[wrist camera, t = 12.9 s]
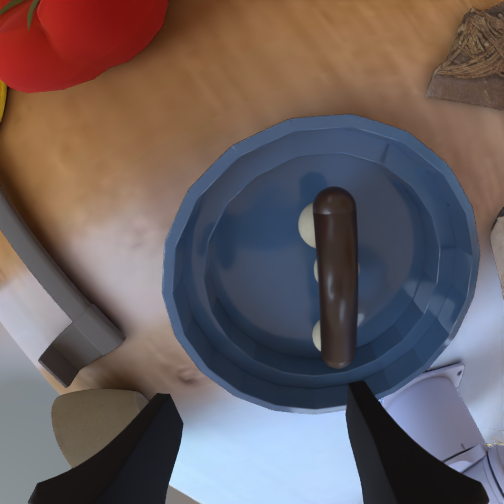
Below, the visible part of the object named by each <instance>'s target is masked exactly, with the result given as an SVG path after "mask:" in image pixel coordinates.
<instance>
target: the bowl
mask: <svg viewBox="0 0 504 504" xmlns="http://www.w3.org/2000/svg"><path fill="white" fill-rule="evenodd" d="M332 186H336V187H341V188H343V189H345V190H347V191H348V192H349V193H350V194H351V195H352V196H353V198H354V200H355V203H356V208H357V229H358V262H359V268H360V269H359V276H358V325H357V346H356V355H355V358H354V360H353V361H352V362H351V364H349V365H348V366H346V367H344V368H341V369H335V368H331V367H329V366H328V365H326V364H325V362H324V361H323V359H322V356H321V351H320V350H318V349H317V347H316V346H315V344H314V342H313V337H312V334H313V329H314V326H315V324H316V323H317V322H318V320H320V311H319V291H318V282H317V280H316V278H315V275H314V264H315V261H316V248H313V247H311V246H310V245H308V244H307V243H306V242H305V241H304V240H303V238H302V237H301V235H300V232H299V227H298V222H299V217H300V215H301V213H302V211H303V209H304V208H305V207H306V206H307V205H309V204H310V203H312V202H313V201H314V199H315V197H316V196H317V194H318V193H319V192H320V191H321V190H323V189H325V188H327V187H332ZM479 261H480V248H479V240H478V234H477V228H476V222H475V217H474V211H473V208H472V205H471V204H470V202H469V200H468V198H467V196H466V194H465V192H464V190H463V189H462V187H461V185H460V183H459V181H458V180H457V178H456V176H455V175H454V173H453V171H452V169H451V168H450V166H448V164H447V163H446V162H445V161H443V160H442V159H441V158H440V157H439V156H438V155H436V154H435V153H434V152H433V151H432V150H431V149H429V148H428V147H427V146H426V145H424V144H423V143H422V142H421V141H419V140H418V139H417V138H416V137H414V136H413V135H412V134H410V133H409V132H407V131H405V130H402V129H399V128H396V127H393V126H390V125H387V124H384V123H381V122H378V121H375V120H372V119H368V118H365V117H361V116H358V115H354V114H353V115H352V114H341V115H324V116H311V117H300V118H291V119H288V120H285V121H283V122H281V123H278V124H276V125H274V126H272V127H270V128H267V129H265V130H263V131H261V132H259V133H257V134H255V135H253V136H250V137H248V138H246V139H244V140H242V141H240V142H238V143H236V144H234V145H233V146H232V147H230V148H229V149H228V150H227V151H226V152H225V153H224V154H223V155H221V156H220V157H219V158H218V159H217V160H216V161H215V162H214V164H213V165H212V166H211V167H210V168H209V169H208V170H207V171H206V172H205V173H204V174H203V175H202V176H201V177H200V178H199V179H198V180H197V181H196V182H195V183H194V184H193V185H192V186H191V187H190V188H189V190H188V191H187V193H186V195H185V197H184V199H183V202H182V204H181V206H180V208H179V210H178V213H177V215H176V217H175V219H174V222H173V224H172V226H171V228H170V231H169V233H168V235H167V238H166V240H165V246H164V261H163V278H162V295H163V299H164V302H165V305H166V309H167V312H168V315H169V319H170V322H171V325H172V328H173V331H174V334H175V336H176V338H177V340H178V341H179V343H180V344H181V345H182V347H183V348H184V350H185V351H186V352H187V354H188V355H189V357H190V358H191V359H192V361H193V362H194V363H195V365H196V366H197V367H198V369H199V370H200V371H201V372H202V373H203V374H205V375H206V376H207V377H209V378H210V379H211V380H213V381H214V382H215V383H217V384H218V385H220V386H221V387H222V388H224V389H225V390H227V391H228V392H229V393H231V394H232V395H234V396H236V397H238V398H240V399H243V400H246V401H248V402H251V403H254V404H256V405H259V406H262V407H265V408H268V409H270V410H274V411H282V412H291V413H302V414H322V413H330V412H337V411H343V410H346V405H347V394H348V383H352V382H358V381H365V382H366V384H367V385H368V387H369V388H370V390H371V391H372V393H373V394H374V395H375V397H376V398H377V399H381V398H383V397H386V396H388V395H390V394H393V393H395V392H396V391H398V390H399V389H401V388H402V387H403V386H405V385H406V384H408V383H409V382H411V381H412V380H413V379H415V378H416V377H418V376H419V375H420V374H422V373H423V372H424V371H426V370H427V368H429V367H430V366H431V365H432V364H433V362H434V361H435V360H436V359H437V358H438V357H439V355H440V354H441V353H442V352H443V351H444V350H445V348H446V347H447V346H448V345H449V344H450V342H451V341H452V340H453V339H454V337H455V336H456V334H457V332H458V330H459V328H460V326H461V324H462V322H463V320H464V317H465V315H466V313H467V311H468V309H469V307H470V304H471V302H472V300H473V297H474V293H475V287H476V281H477V275H478V268H479Z"/></svg>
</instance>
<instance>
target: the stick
mask: <svg viewBox="0 0 504 504" xmlns="http://www.w3.org/2000/svg"><path fill="white" fill-rule="evenodd" d="M313 221H314V232H315V245H316V259H317V274H318V291H319V311H320V338H321V356H322V359H323V361H324V362H325V364H326V365H328V366H329V367H331V368H335V369H341V368H344V367H346V366H348V365H349V364H351V362H352V361H353V360H354V358H355V355H356V346H357V325H358V229H357V208H356V203H355V200H354V198H353V196H352V195H351V194H350V193H349V192H348V191H347V190H345V189H343V188H341V187H336V186H332V187H327V188H325V189H323V190H321V191H320V192H319V193H318V194H317V196H316V197H315V199H314V201H313Z"/></svg>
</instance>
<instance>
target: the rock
mask: <svg viewBox="0 0 504 504" xmlns="http://www.w3.org/2000/svg"><path fill="white" fill-rule="evenodd" d="M490 240H491V246H492V250H493V254H494V258H495V262H496V267H497V271H498V275H499V278H500V282H501V287H502V293H503V299H504V207H503V209H502V210H501V212H500V214H499V216H498V217H497V219H496V221H495V223H494V225H493V228H492V230H491V237H490Z"/></svg>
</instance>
